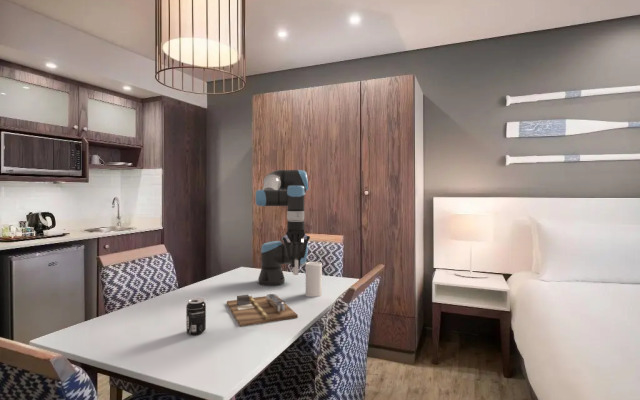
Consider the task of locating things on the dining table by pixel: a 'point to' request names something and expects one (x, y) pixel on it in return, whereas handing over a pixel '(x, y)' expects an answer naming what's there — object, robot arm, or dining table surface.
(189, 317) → the beverage can
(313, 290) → the cup
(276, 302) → the bar
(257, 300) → the door board
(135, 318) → the dining table surface
